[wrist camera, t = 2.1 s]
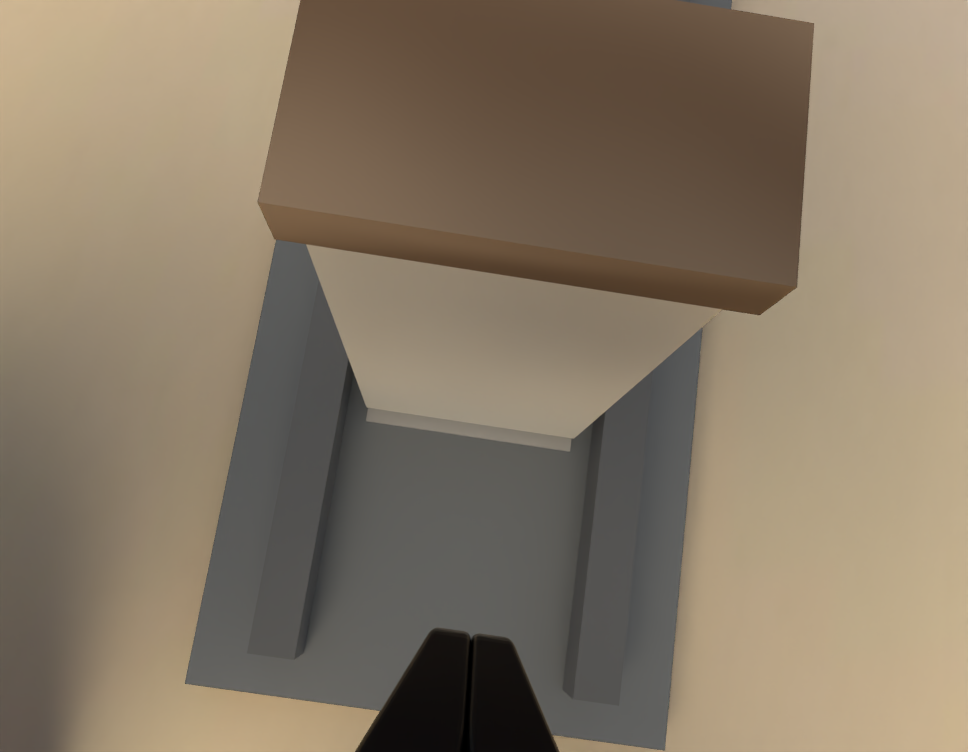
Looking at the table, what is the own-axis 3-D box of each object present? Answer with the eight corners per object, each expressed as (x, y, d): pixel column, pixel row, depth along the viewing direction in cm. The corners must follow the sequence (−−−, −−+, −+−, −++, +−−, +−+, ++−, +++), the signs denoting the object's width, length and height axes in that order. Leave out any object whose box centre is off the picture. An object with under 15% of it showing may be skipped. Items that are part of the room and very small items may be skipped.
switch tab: (580, 450, 21) (796, 287, 9) (356, 416, 21) (258, 202, 9) (594, 330, 22) (814, 23, 9) (377, 296, 21) (314, -60, 9)
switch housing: (653, 742, 21) (683, 765, 19) (196, 678, 21) (165, 692, 18) (726, -46, 26) (757, -110, 23) (356, -109, 26) (349, -181, 23)
